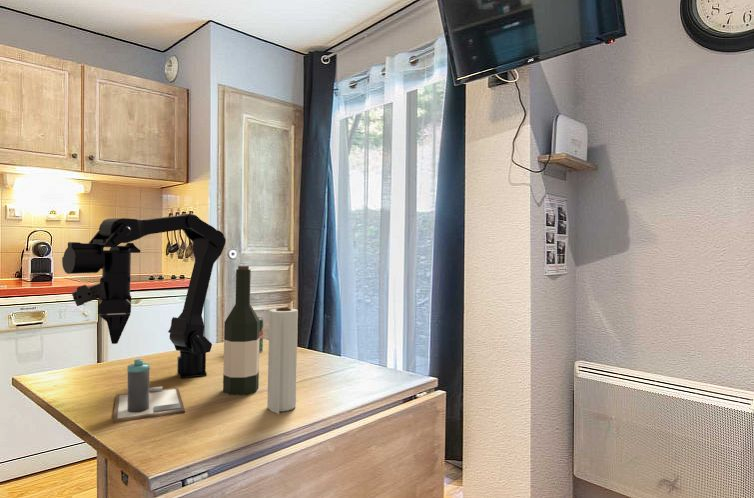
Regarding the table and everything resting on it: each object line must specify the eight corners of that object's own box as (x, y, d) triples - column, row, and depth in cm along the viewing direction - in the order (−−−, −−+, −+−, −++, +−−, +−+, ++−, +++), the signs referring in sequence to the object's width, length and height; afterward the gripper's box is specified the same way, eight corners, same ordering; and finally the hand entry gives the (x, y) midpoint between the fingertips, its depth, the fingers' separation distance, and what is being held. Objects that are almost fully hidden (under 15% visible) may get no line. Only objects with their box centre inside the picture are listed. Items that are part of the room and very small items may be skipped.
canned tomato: (243, 348, 156) (244, 316, 156) (266, 349, 156) (266, 317, 156) (234, 353, 148) (234, 319, 148) (257, 355, 148) (258, 320, 148)
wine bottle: (265, 387, 114) (268, 266, 114) (245, 397, 106) (248, 267, 106) (237, 383, 117) (239, 265, 117) (215, 393, 109) (217, 266, 109)
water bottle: (149, 404, 99) (149, 356, 99) (149, 410, 95) (149, 361, 95) (127, 407, 97) (127, 358, 97) (127, 413, 93) (127, 363, 93)
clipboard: (178, 389, 111) (178, 384, 111) (184, 412, 96) (185, 406, 96) (116, 396, 105) (116, 391, 105) (113, 422, 90) (113, 416, 90)
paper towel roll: (280, 401, 104) (282, 306, 104) (301, 406, 101) (303, 308, 101) (257, 410, 98) (259, 309, 98) (278, 416, 95) (281, 312, 95)
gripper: (79, 270, 111) (78, 335, 111) (70, 275, 95) (68, 351, 95) (131, 270, 116) (130, 332, 116) (131, 274, 100) (130, 346, 100)
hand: (115, 339), depth 107 cm, fingers open, 9 cm apart
